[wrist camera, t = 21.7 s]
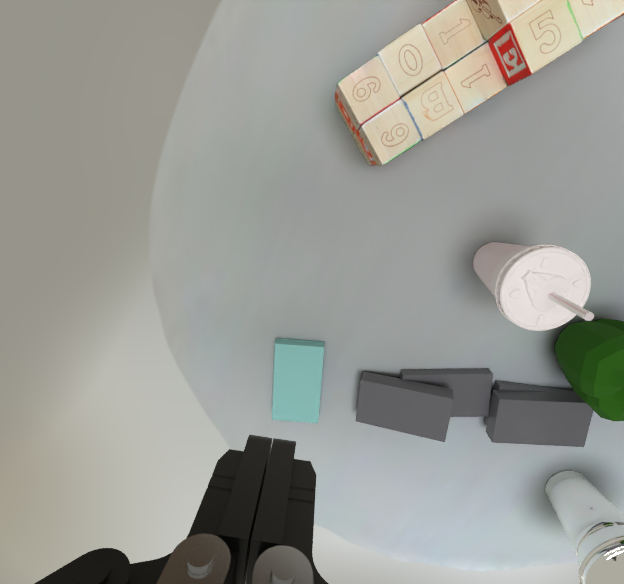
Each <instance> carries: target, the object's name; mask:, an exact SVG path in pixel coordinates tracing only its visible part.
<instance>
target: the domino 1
mask: <svg viewBox="0 0 624 584" xmlns="http://www.w3.org/2000/svg"><path fill="white" fill-rule="evenodd" d="M323 357H324V342H321V341H308V340H296V339H283V338H277V339H276V342H275V355H274V381H273V407H272V420H284V421H296V422H308V423H318V419H319V406H320V394H321V382H322V369H323Z"/></svg>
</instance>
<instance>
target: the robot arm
mask: <svg viewBox="0 0 624 584" xmlns="http://www.w3.org/2000/svg"><path fill="white" fill-rule="evenodd" d="M271 444H272V438H268V437H261V436H254V435H249V437H248V440H247V443H246V446H245V450H244V452H243V451H237V450H230V449H229V450H228V451H227V452H226V453H225V454H224V455H223V456H222V457H221V458H220V459H219V460H218V462H217V464H216V467H215V469H214V472H213V475H212V477H211V479H210V482H209V485H208V488H207V490H206V492H205V495H204V497H203V500H202V502H201V505H200V507H199V510H198V512H197V515H196V517H195V520H194V522H193V525H192V527H191V530H190V533H189V534H188V536H187V538H186V539H185V540H183V541H182V542H181V543H180V544H179V545H178V546H177V547H176V548H175V549H174V551H173V552H172V553H170V554H168V555H167V556H165V557H162V558H159V559H156V560H151V561H145V562H139V563H134V564H130V563H129V560H128V558H127V557H126V555H125V554H124V553H122V552H121V551H119V550H117V549H112V548H102V549H97V550H93V551H91V552H88V553H86V554H84V555H82V556H81V557H79V558H77V559H75V560H74V561H72V562H70V563H69V564H67V565H65V566H63V567H62V568H60V569H58V570H57V571H55V572H53V573H52V574H50V575H48V576H47V577H45V578H43V579H42V580H40V581H38V582H37V583H35V584H328V583H327V582H326V581H325V580H324V579H323V578H322V577H321V576H320V574H319V573H318V571H317V569H316V568H315V565H314V563H313V557H312V543H313V525H314V506H315V505H314V503H315V487H316V474H315V471H314V469H313V467H312V464H311V462H310V461H304V460H297V459H294V453H295V446H296V442H295V441H288V440H282V439H275V438H274V439H273V444H272V448H271ZM270 452H271V453H270Z"/></svg>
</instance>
